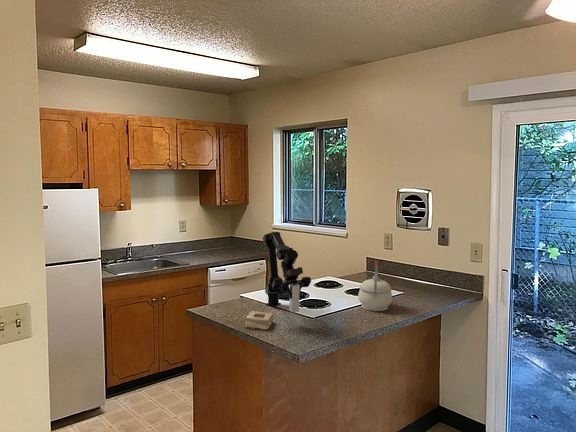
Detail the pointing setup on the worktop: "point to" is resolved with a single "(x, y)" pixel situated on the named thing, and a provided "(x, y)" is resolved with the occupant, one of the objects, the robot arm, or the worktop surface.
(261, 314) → the socket block
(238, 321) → the worktop surface
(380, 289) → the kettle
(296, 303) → the square bit
